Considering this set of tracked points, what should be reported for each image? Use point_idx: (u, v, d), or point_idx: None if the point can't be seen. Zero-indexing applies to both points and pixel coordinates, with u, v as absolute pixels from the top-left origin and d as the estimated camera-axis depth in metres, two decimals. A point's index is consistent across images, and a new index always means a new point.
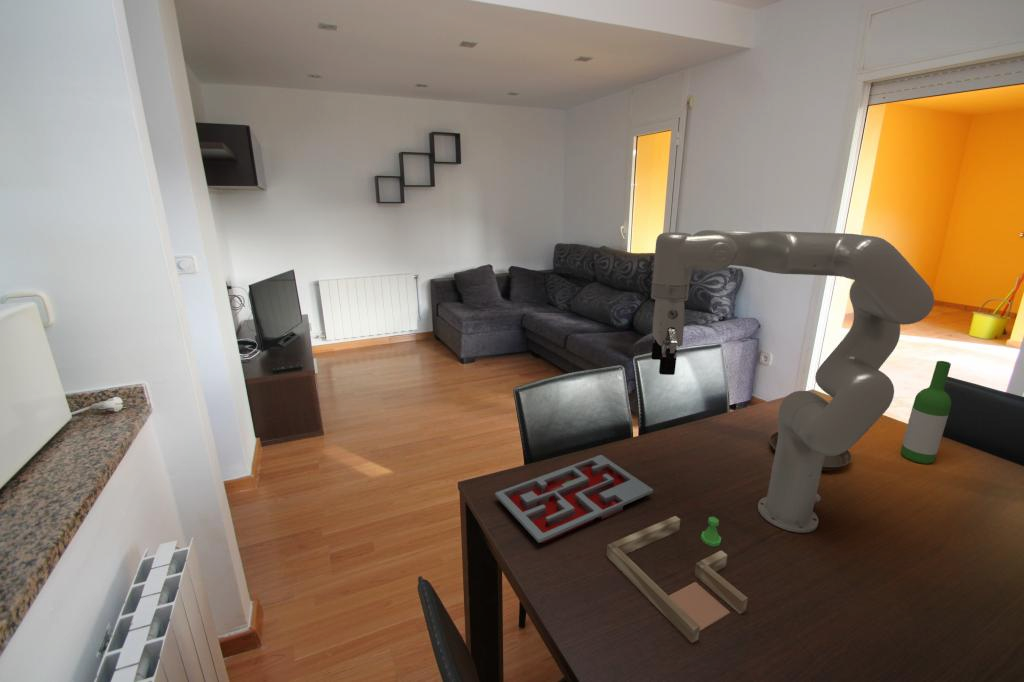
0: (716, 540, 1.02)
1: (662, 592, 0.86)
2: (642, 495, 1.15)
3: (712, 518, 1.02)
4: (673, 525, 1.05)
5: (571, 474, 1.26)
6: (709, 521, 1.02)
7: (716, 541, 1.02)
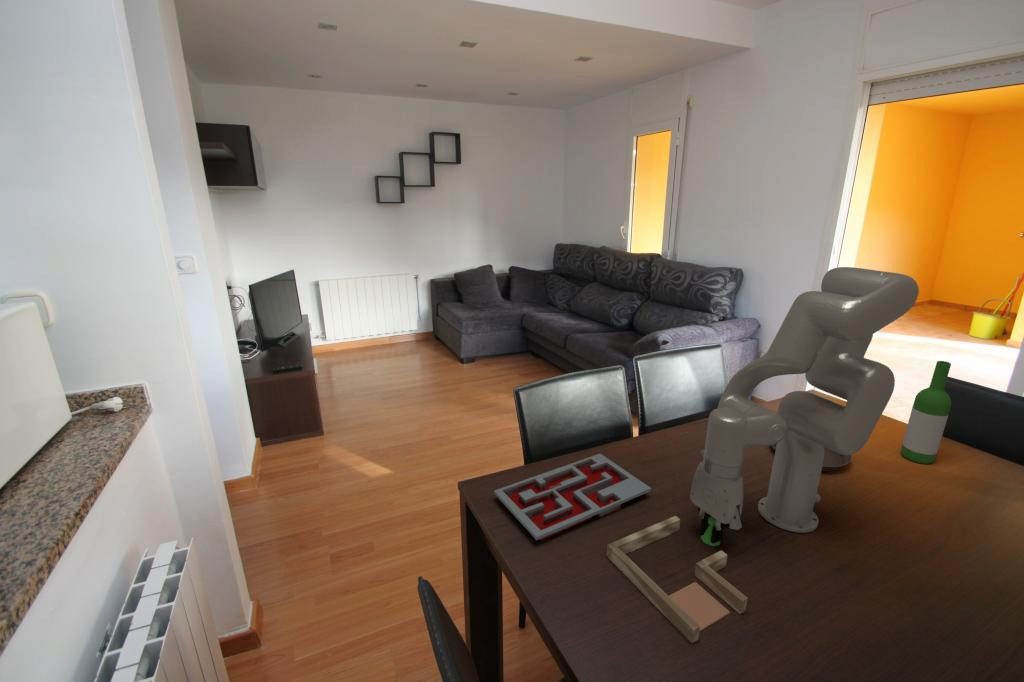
0: None
1: (662, 592, 0.86)
2: (640, 493, 1.16)
3: (712, 518, 1.02)
4: (673, 525, 1.05)
5: (569, 473, 1.27)
6: (709, 521, 1.02)
7: None
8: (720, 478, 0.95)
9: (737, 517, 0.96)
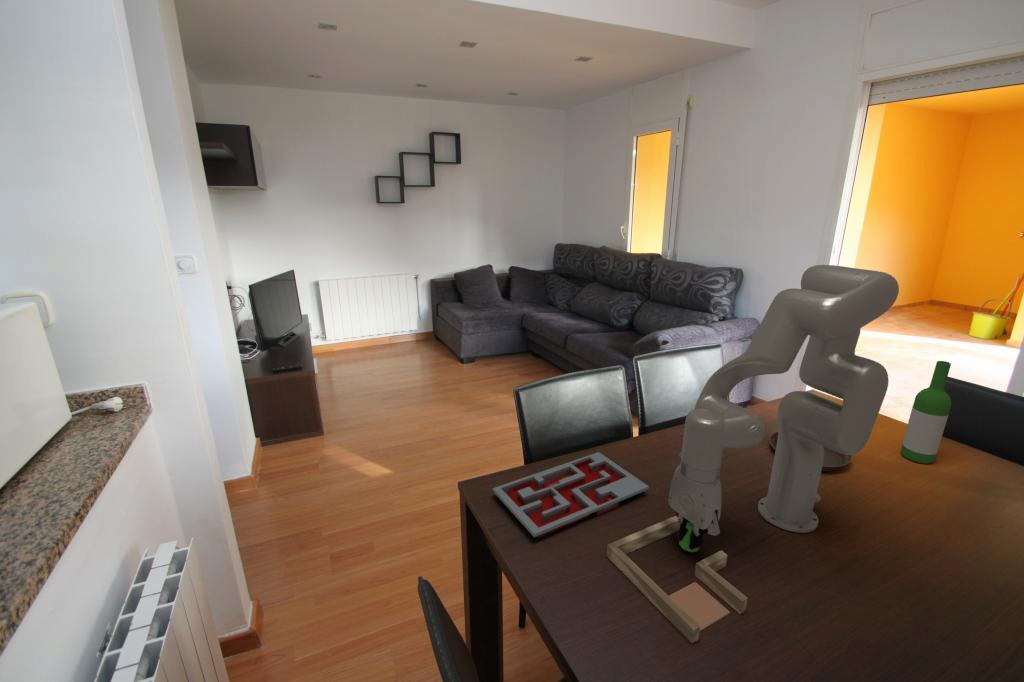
0: None
1: (662, 592, 0.86)
2: (638, 492, 1.16)
3: (690, 523, 0.98)
4: (673, 525, 1.05)
5: (568, 471, 1.27)
6: (687, 526, 0.98)
7: None
8: (697, 482, 0.91)
9: (715, 522, 0.93)
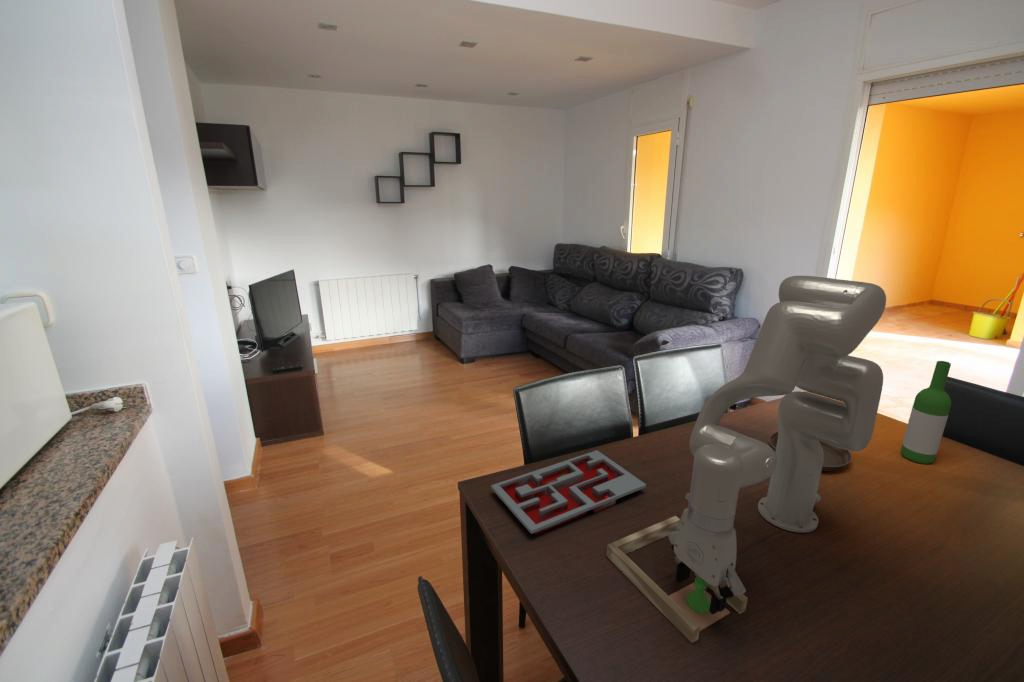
0: (704, 606, 0.85)
1: (662, 592, 0.86)
2: (635, 490, 1.17)
3: (699, 579, 0.85)
4: (673, 525, 1.05)
5: (566, 469, 1.28)
6: (696, 583, 0.85)
7: (704, 608, 0.85)
8: (708, 532, 0.78)
9: (735, 577, 0.78)
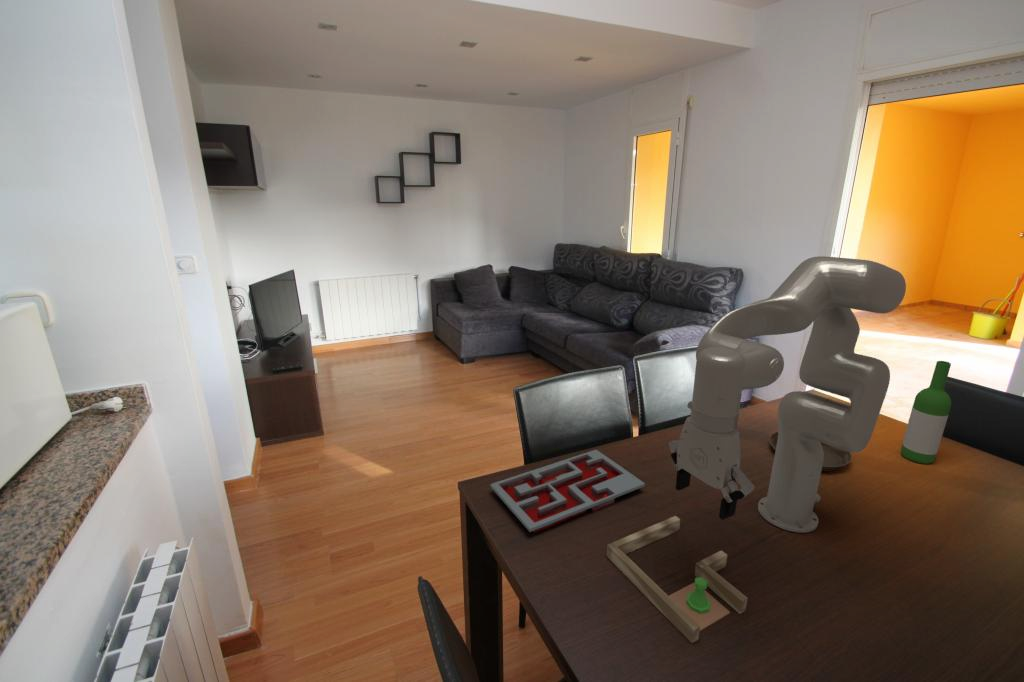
0: (704, 606, 0.85)
1: (662, 592, 0.86)
2: (634, 488, 1.18)
3: (699, 579, 0.85)
4: (673, 525, 1.05)
5: (565, 468, 1.29)
6: (696, 583, 0.85)
7: (704, 608, 0.85)
8: (712, 433, 0.77)
9: (742, 475, 0.77)
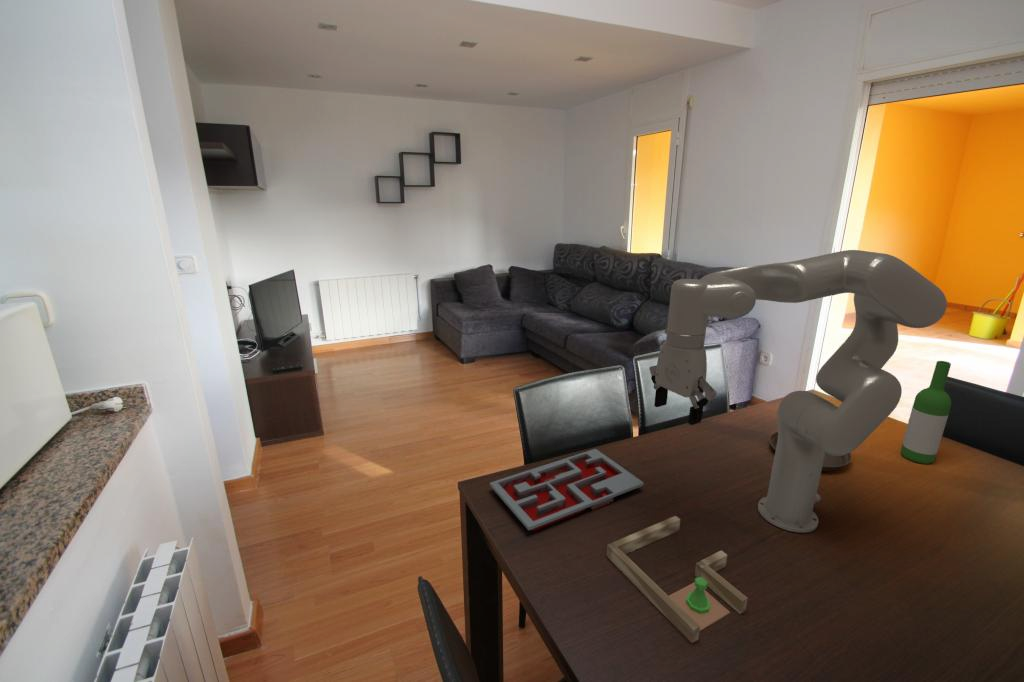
0: (704, 606, 0.85)
1: (662, 592, 0.86)
2: (632, 488, 1.18)
3: (699, 579, 0.85)
4: (673, 525, 1.05)
5: (565, 467, 1.29)
6: (696, 583, 0.85)
7: (704, 608, 0.85)
8: (682, 348, 0.93)
9: (706, 384, 0.92)
